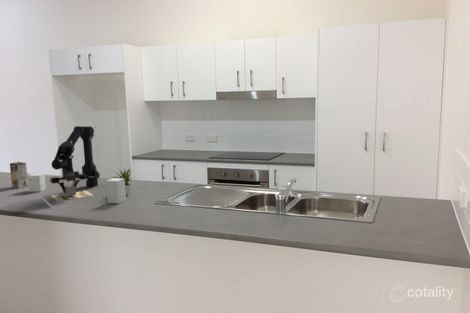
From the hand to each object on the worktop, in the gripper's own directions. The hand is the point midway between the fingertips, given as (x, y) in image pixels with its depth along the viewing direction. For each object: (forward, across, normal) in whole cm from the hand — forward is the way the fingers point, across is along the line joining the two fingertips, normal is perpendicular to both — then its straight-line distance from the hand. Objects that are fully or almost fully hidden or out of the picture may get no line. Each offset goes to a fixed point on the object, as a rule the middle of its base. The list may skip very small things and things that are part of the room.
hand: (69, 192), depth 226 cm
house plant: (+3, +28, -14) cm, 32 cm away
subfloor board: (+3, +1, 0) cm, 3 cm away
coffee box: (+3, -18, +52) cm, 55 cm away
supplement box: (+3, +18, -27) cm, 33 cm away
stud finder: (+1, 0, 0) cm, 1 cm away
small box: (+3, -11, +32) cm, 34 cm away
